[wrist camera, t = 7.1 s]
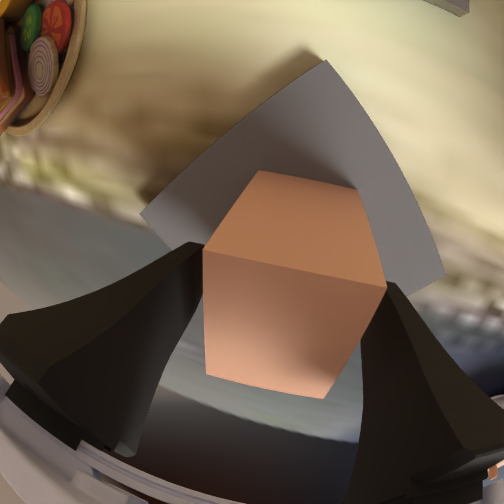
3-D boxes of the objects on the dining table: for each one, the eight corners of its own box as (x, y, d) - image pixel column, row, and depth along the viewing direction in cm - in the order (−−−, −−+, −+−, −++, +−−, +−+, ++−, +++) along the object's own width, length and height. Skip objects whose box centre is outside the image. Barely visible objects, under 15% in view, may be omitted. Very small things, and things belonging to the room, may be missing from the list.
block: (258, 170, 11) (202, 249, 6) (357, 190, 10) (387, 287, 5) (247, 270, 14) (206, 373, 9) (328, 287, 13) (323, 398, 8)
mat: (440, 263, 12) (446, 275, 11) (274, 338, 17) (271, 350, 17) (325, 62, 9) (326, 59, 8) (149, 206, 14) (139, 214, 13)
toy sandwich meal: (111, 91, 11) (41, 106, 7) (5, 155, 15) (-37, 178, 11) (97, -65, 5) (44, -79, 1) (-9, 34, 8) (-51, 43, 5)
